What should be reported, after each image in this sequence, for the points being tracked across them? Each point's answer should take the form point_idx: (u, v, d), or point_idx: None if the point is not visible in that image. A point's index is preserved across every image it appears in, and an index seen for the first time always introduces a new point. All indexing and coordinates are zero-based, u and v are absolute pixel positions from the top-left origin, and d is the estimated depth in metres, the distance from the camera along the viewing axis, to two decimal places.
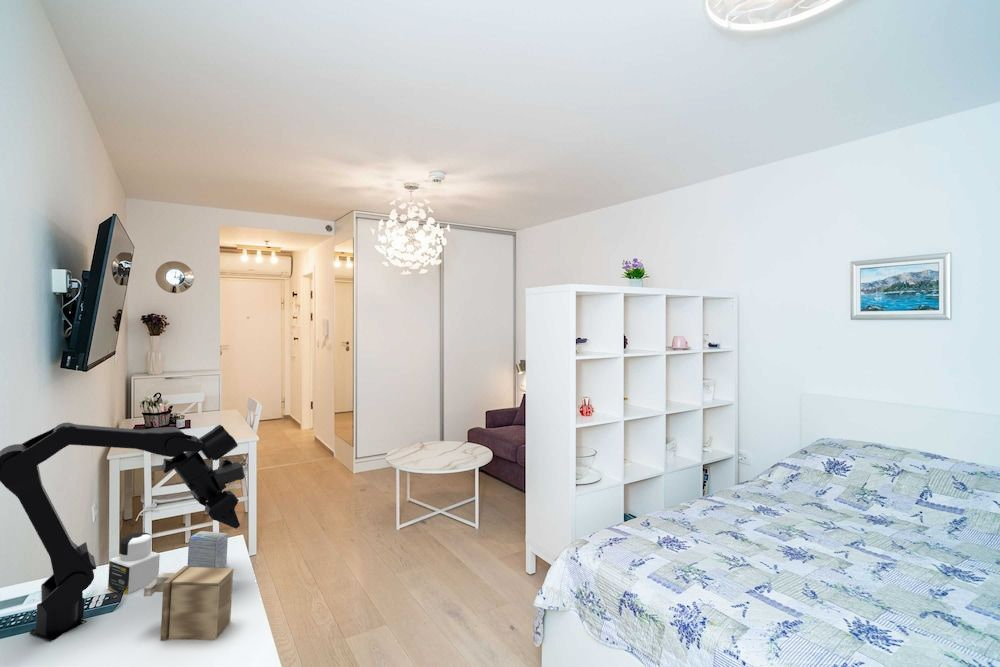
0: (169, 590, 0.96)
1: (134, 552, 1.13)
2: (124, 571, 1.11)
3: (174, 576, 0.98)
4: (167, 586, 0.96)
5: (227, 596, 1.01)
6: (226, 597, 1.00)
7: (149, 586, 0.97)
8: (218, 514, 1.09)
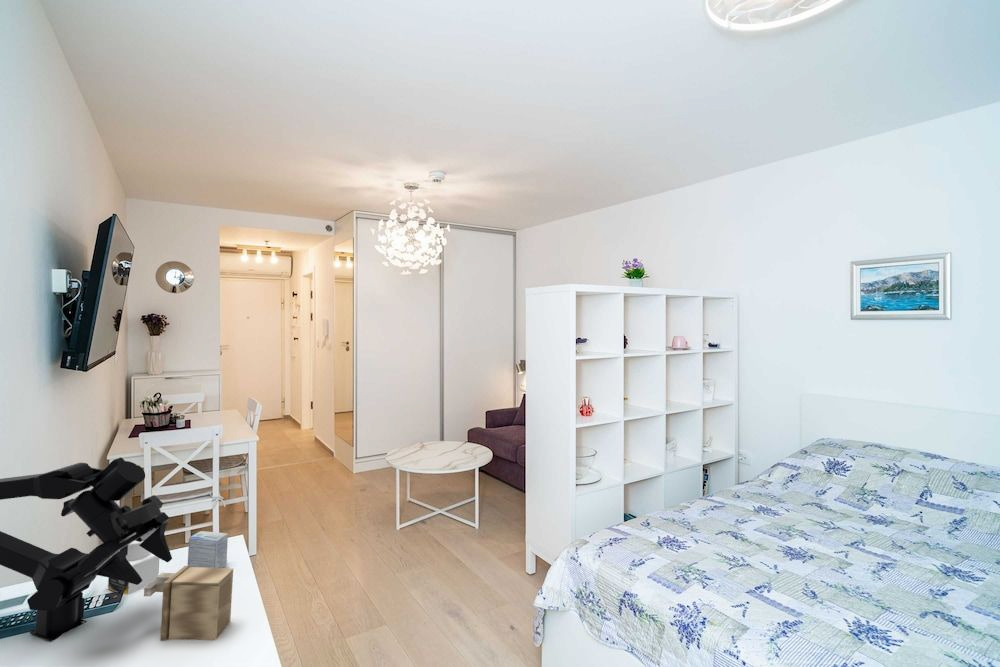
0: (169, 590, 0.96)
1: (134, 552, 1.13)
2: None
3: (174, 576, 0.98)
4: (167, 586, 0.96)
5: (227, 596, 1.01)
6: (226, 597, 1.00)
7: (149, 586, 0.97)
8: (86, 571, 0.89)
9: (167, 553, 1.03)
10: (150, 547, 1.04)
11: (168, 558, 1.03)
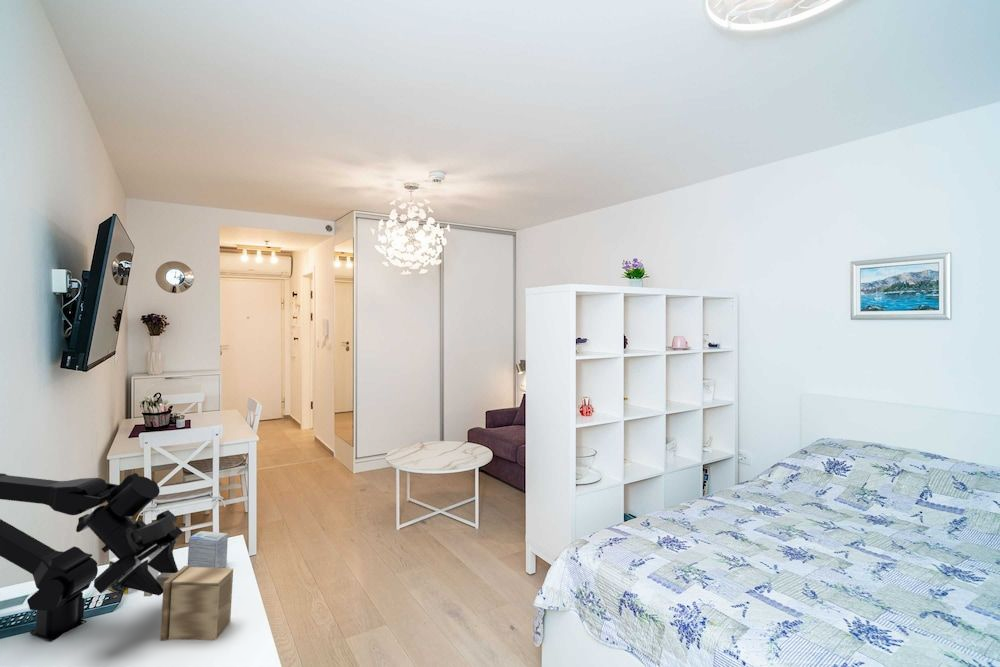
0: (169, 590, 0.96)
1: None
2: None
3: (174, 576, 0.98)
4: (167, 586, 0.96)
5: (227, 596, 1.01)
6: (226, 597, 1.00)
7: None
8: (102, 588, 0.90)
9: (175, 572, 1.02)
10: (158, 566, 1.02)
11: None
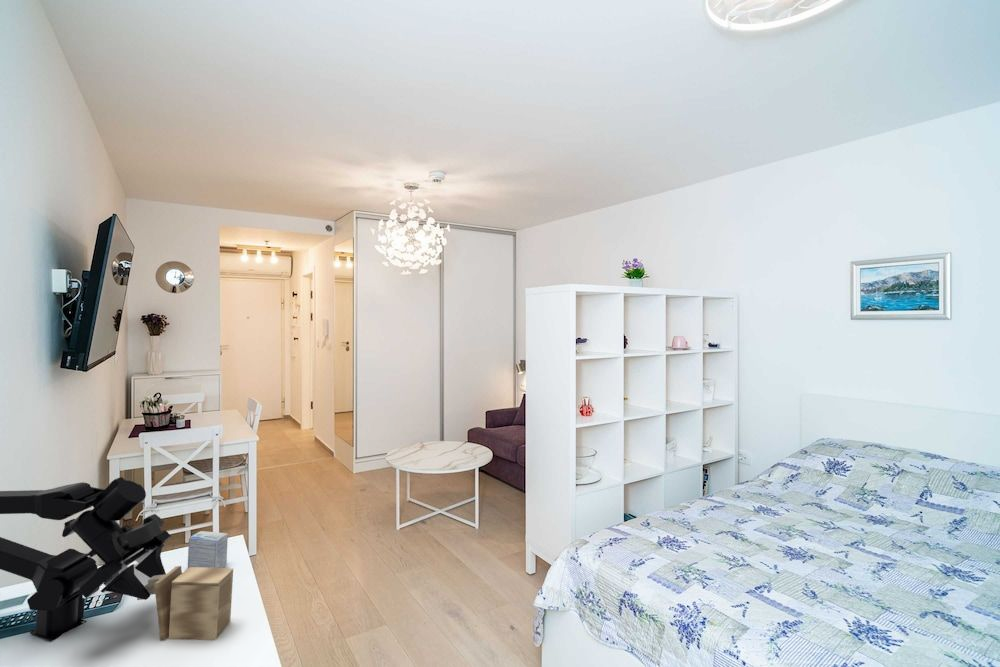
0: (161, 590, 0.96)
1: None
2: None
3: (165, 576, 0.98)
4: (158, 586, 0.96)
5: (227, 596, 1.01)
6: (226, 597, 1.00)
7: None
8: (87, 592, 0.89)
9: None
10: (146, 570, 1.02)
11: None
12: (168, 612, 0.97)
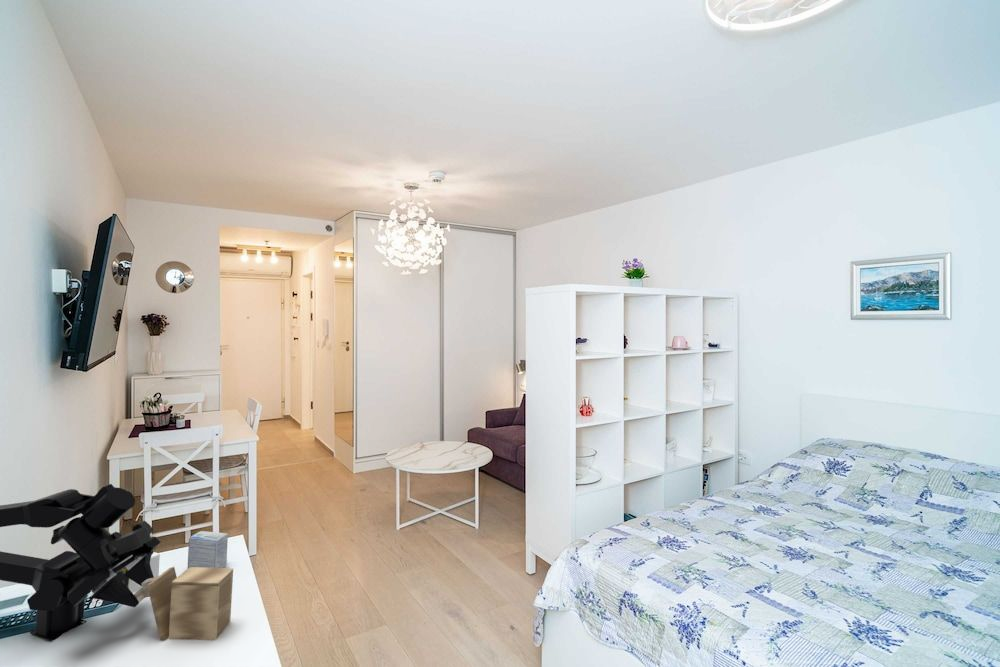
0: (155, 591, 0.96)
1: None
2: (124, 571, 1.11)
3: (158, 578, 0.98)
4: (151, 587, 0.96)
5: (227, 596, 1.01)
6: (226, 597, 1.00)
7: (136, 593, 0.97)
8: (75, 600, 0.89)
9: None
10: (135, 577, 1.02)
11: None
12: (165, 612, 0.97)
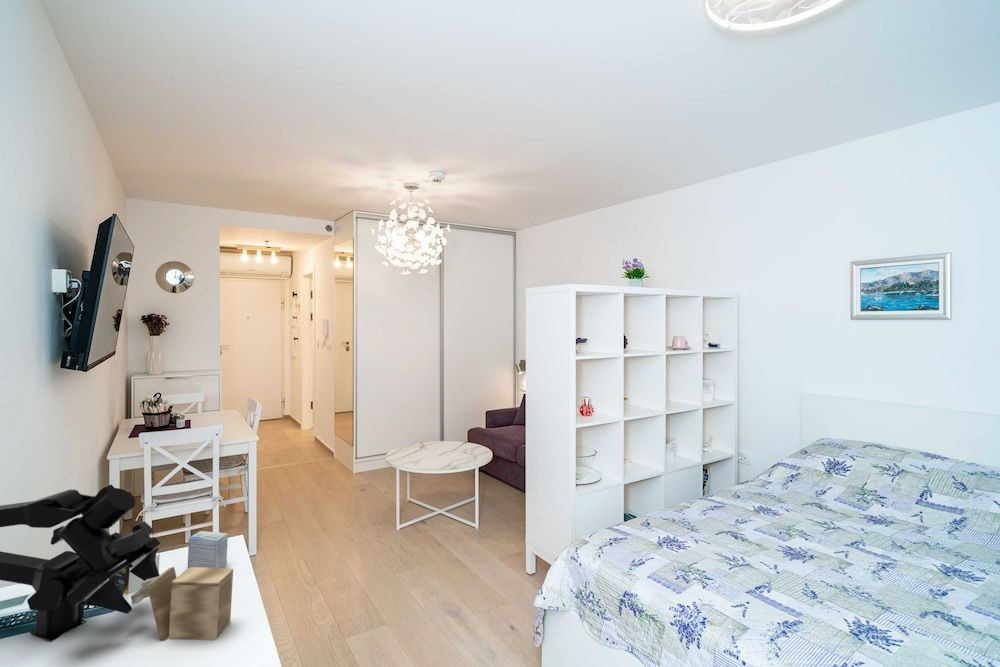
0: (155, 591, 0.96)
1: None
2: (124, 571, 1.11)
3: (158, 578, 0.98)
4: (151, 587, 0.96)
5: (227, 596, 1.01)
6: (226, 597, 1.00)
7: (135, 593, 0.97)
8: (75, 601, 0.89)
9: None
10: (140, 573, 1.04)
11: None
12: (165, 612, 0.97)
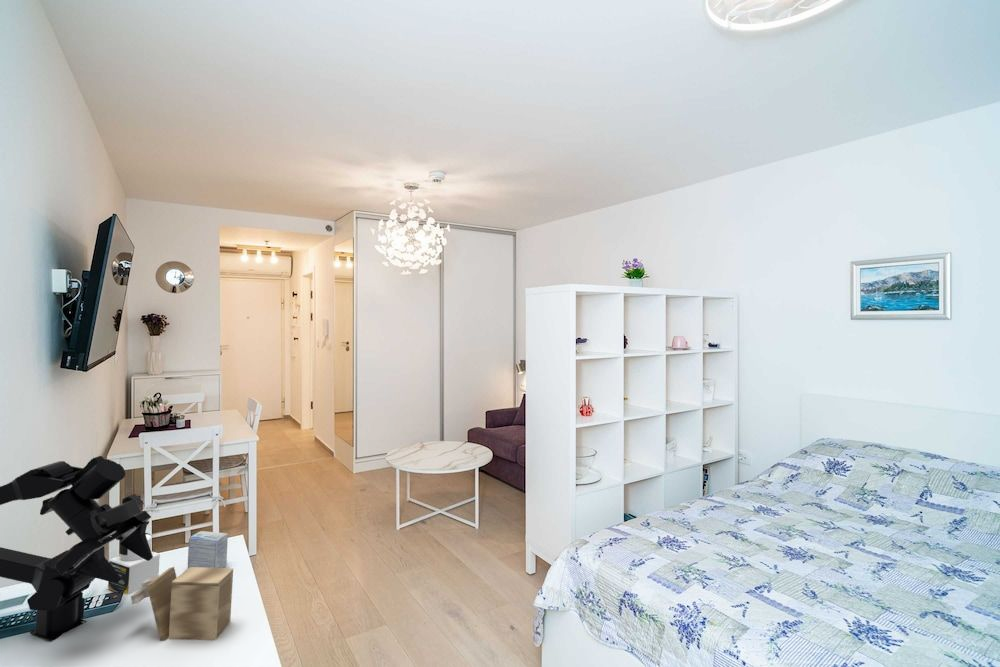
0: (155, 591, 0.96)
1: None
2: (124, 571, 1.11)
3: (158, 578, 0.98)
4: (151, 587, 0.96)
5: (227, 596, 1.01)
6: (226, 597, 1.00)
7: (135, 593, 0.97)
8: (63, 569, 0.89)
9: (148, 552, 1.03)
10: (131, 546, 1.03)
11: (149, 557, 1.03)
12: (165, 612, 0.97)
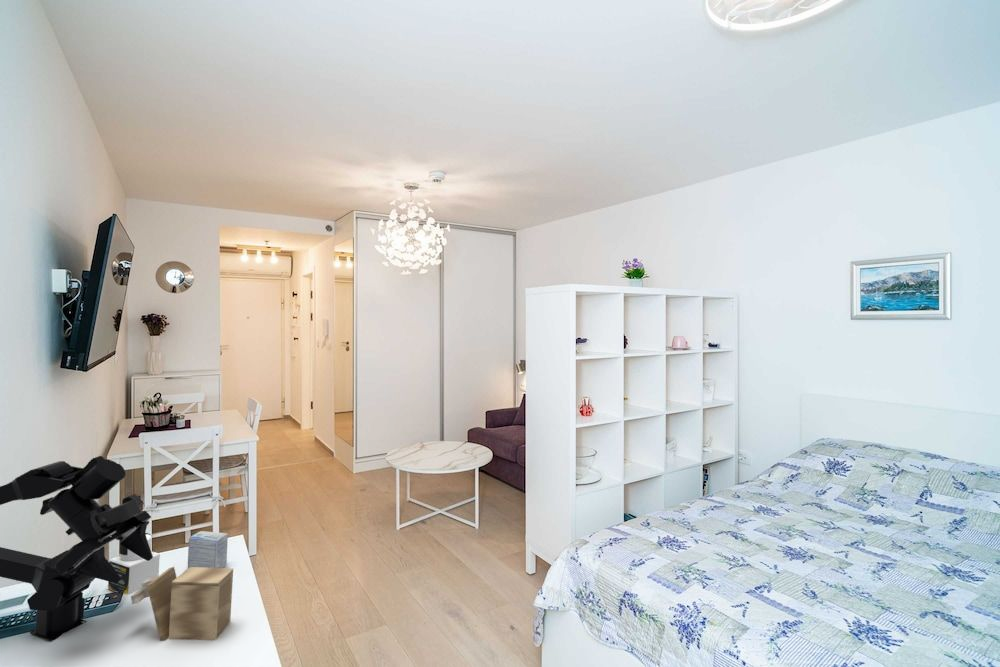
0: (155, 591, 0.96)
1: None
2: (124, 571, 1.11)
3: (158, 578, 0.98)
4: (151, 587, 0.96)
5: (227, 596, 1.01)
6: (226, 597, 1.00)
7: (135, 593, 0.97)
8: (63, 569, 0.89)
9: (148, 552, 1.03)
10: (131, 546, 1.03)
11: (149, 557, 1.03)
12: (165, 612, 0.97)
